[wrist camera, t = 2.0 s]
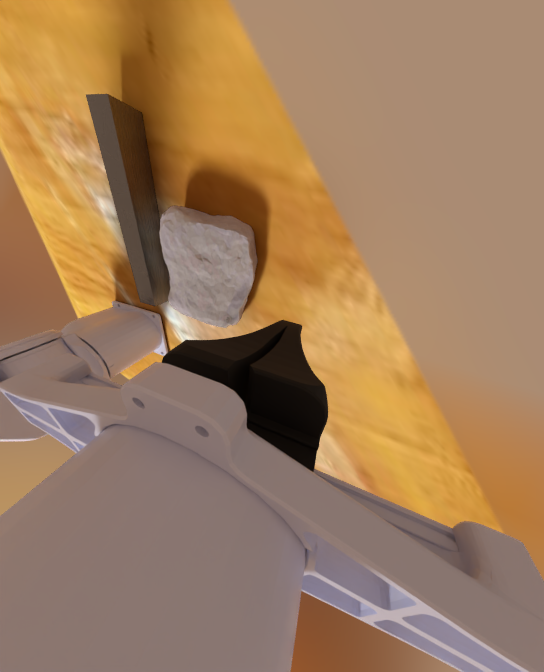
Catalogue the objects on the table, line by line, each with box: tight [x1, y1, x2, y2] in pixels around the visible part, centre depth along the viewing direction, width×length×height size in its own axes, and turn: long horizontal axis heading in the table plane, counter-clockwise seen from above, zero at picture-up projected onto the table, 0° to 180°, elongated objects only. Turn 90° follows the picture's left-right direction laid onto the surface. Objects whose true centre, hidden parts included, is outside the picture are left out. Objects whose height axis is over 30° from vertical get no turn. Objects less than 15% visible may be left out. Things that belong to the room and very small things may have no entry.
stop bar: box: [86, 94, 171, 306], centre depth 21 cm, size 2×18×3 cm, turn 175°
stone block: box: [159, 206, 258, 328], centre depth 22 cm, size 12×5×10 cm
